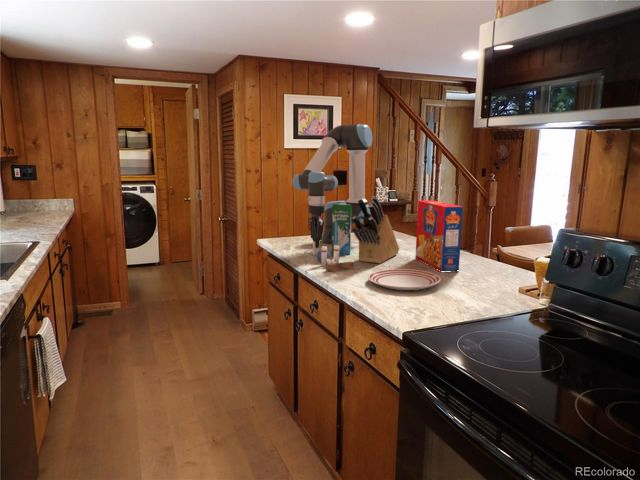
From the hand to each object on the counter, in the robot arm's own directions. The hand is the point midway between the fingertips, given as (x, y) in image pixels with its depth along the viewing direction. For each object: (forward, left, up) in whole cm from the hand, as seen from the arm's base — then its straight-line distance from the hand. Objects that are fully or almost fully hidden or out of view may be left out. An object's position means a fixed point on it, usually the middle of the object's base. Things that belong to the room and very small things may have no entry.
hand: (316, 254), depth 224 cm
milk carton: (-17, -7, -2) cm, 19 cm away
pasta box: (-45, +33, -2) cm, 56 cm away
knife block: (-25, +14, -2) cm, 29 cm away
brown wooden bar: (0, +26, -2) cm, 26 cm away
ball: (0, +9, +1) cm, 9 cm away
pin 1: (+3, +16, -2) cm, 16 cm away
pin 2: (-3, +16, -2) cm, 16 cm away
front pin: (0, +14, -1) cm, 14 cm away
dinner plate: (-13, +55, -2) cm, 57 cm away
